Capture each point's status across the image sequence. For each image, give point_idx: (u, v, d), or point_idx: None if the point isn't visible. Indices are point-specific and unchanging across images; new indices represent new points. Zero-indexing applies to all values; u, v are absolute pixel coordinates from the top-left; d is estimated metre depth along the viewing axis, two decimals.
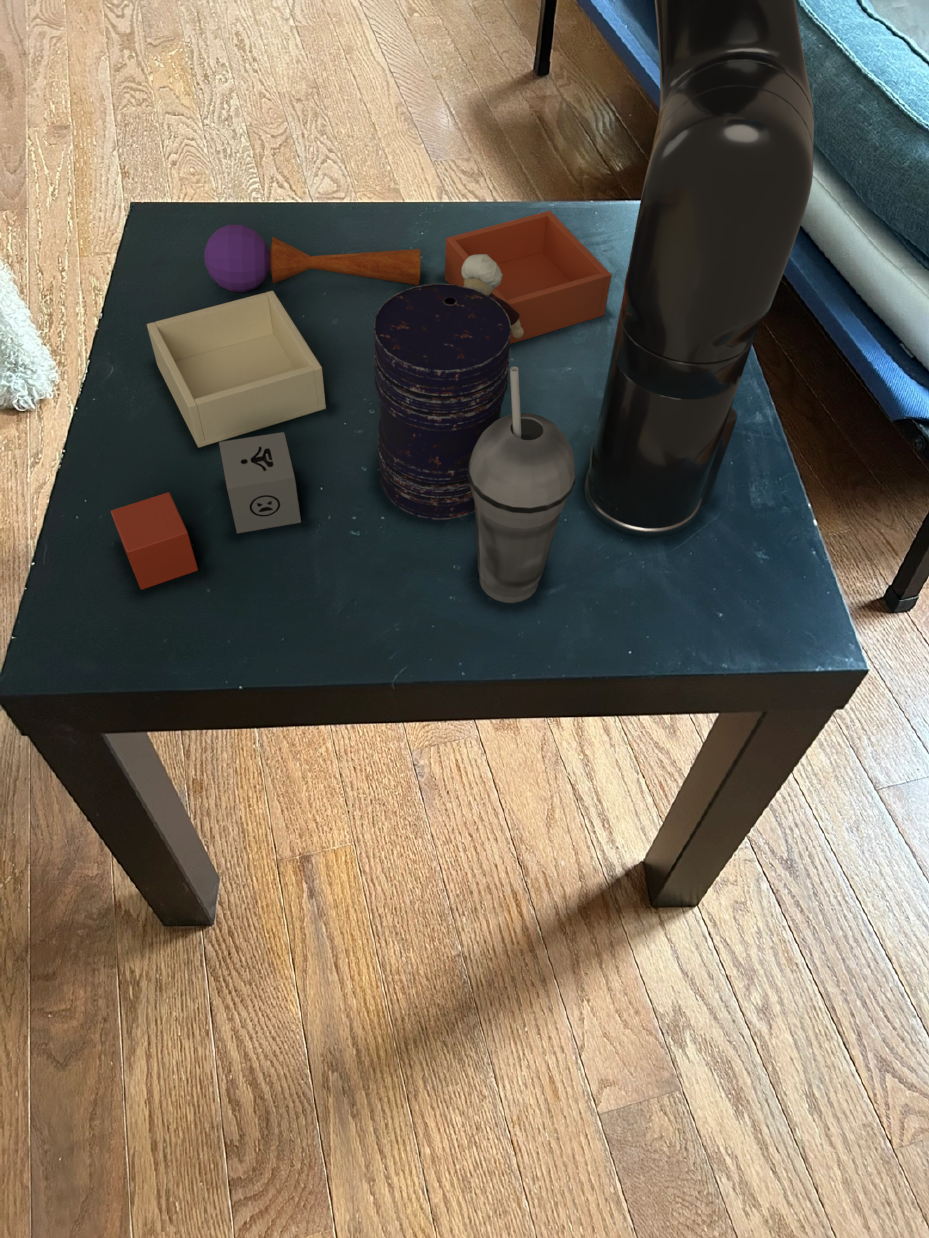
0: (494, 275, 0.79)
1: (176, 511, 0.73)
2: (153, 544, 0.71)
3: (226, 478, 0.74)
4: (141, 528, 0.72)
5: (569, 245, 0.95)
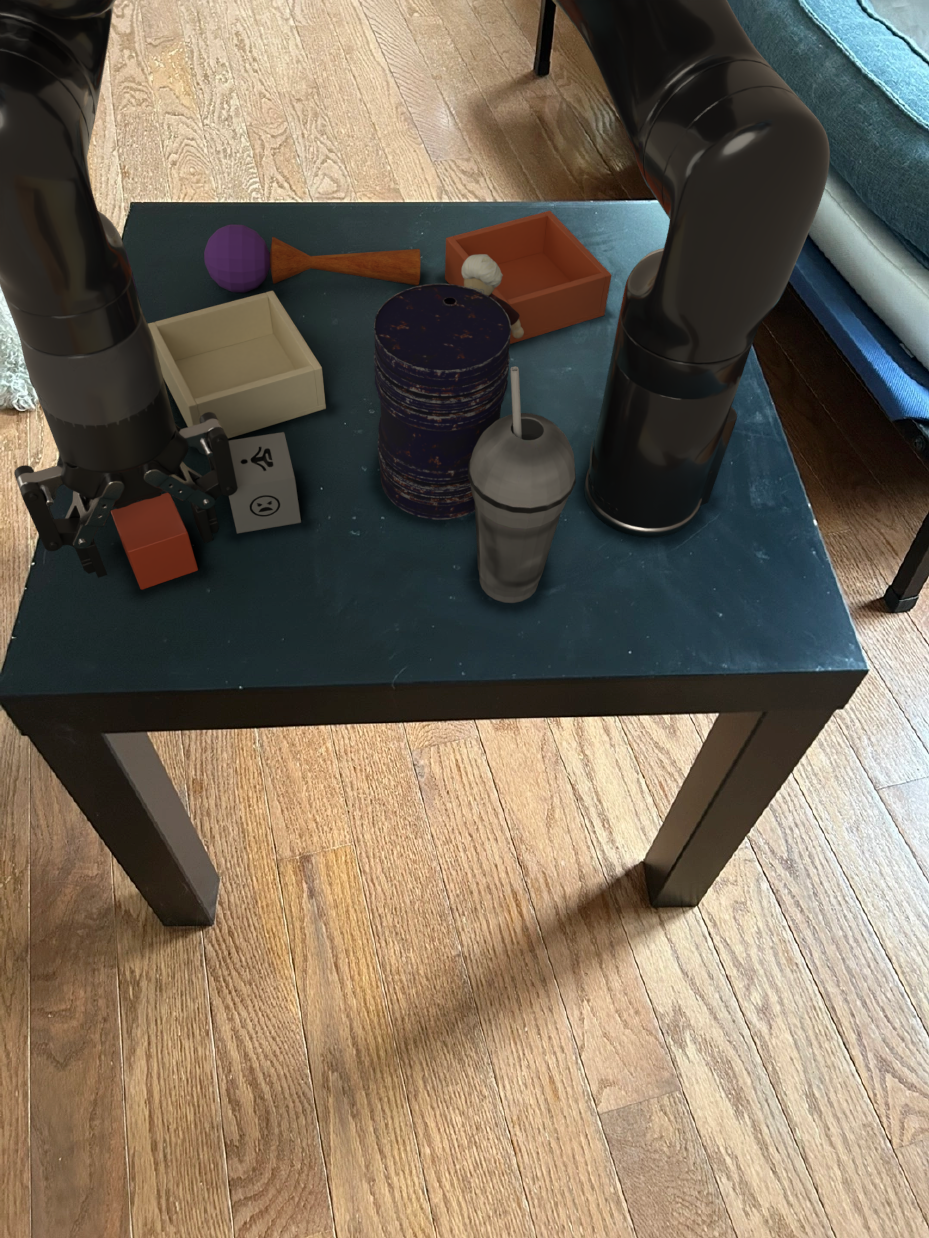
0: (494, 275, 0.79)
1: (176, 511, 0.73)
2: (153, 544, 0.71)
3: None
4: (141, 528, 0.72)
5: (569, 245, 0.95)
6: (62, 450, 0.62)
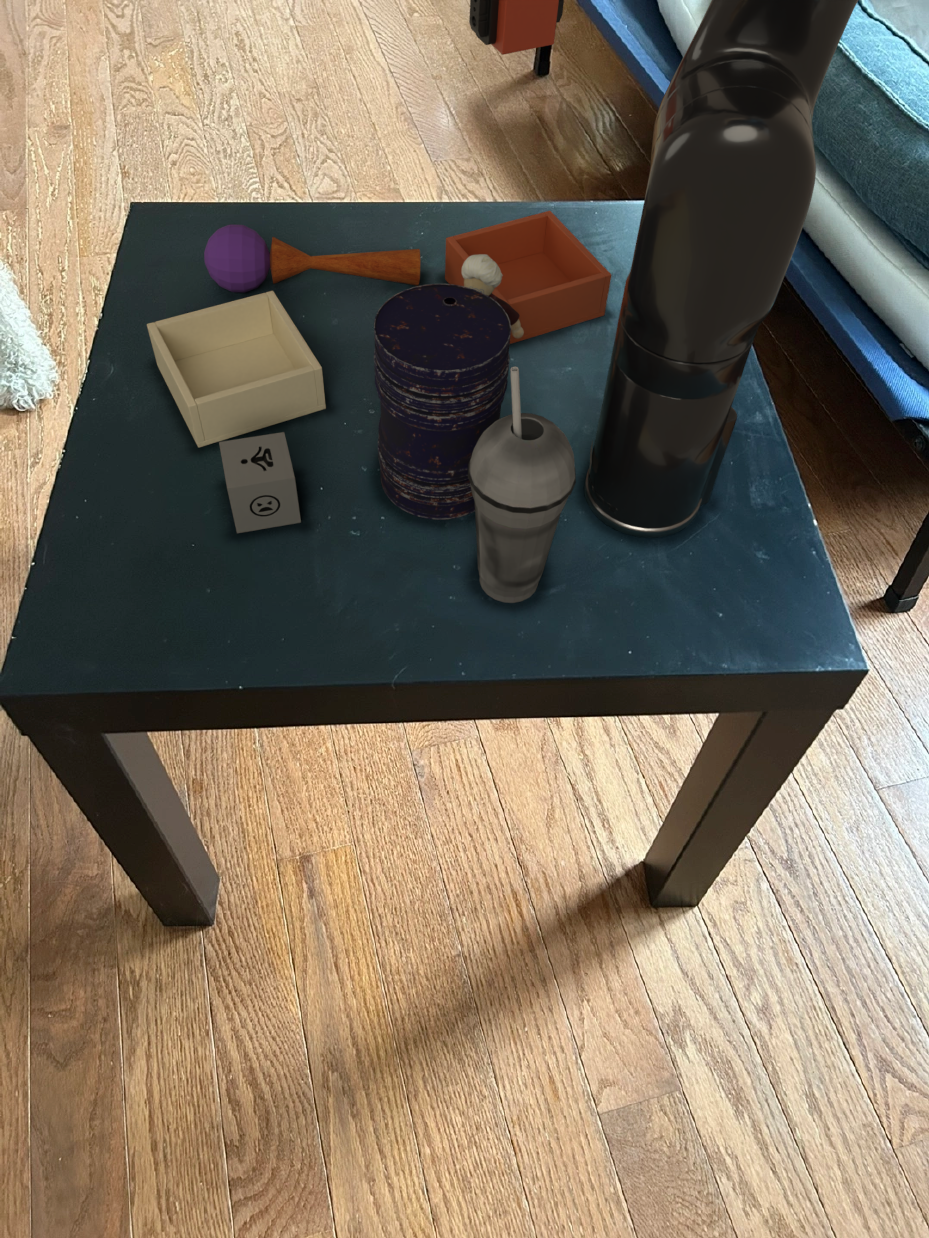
0: (494, 275, 0.79)
1: None
2: None
3: (226, 478, 0.74)
4: None
5: (569, 245, 0.95)
6: None
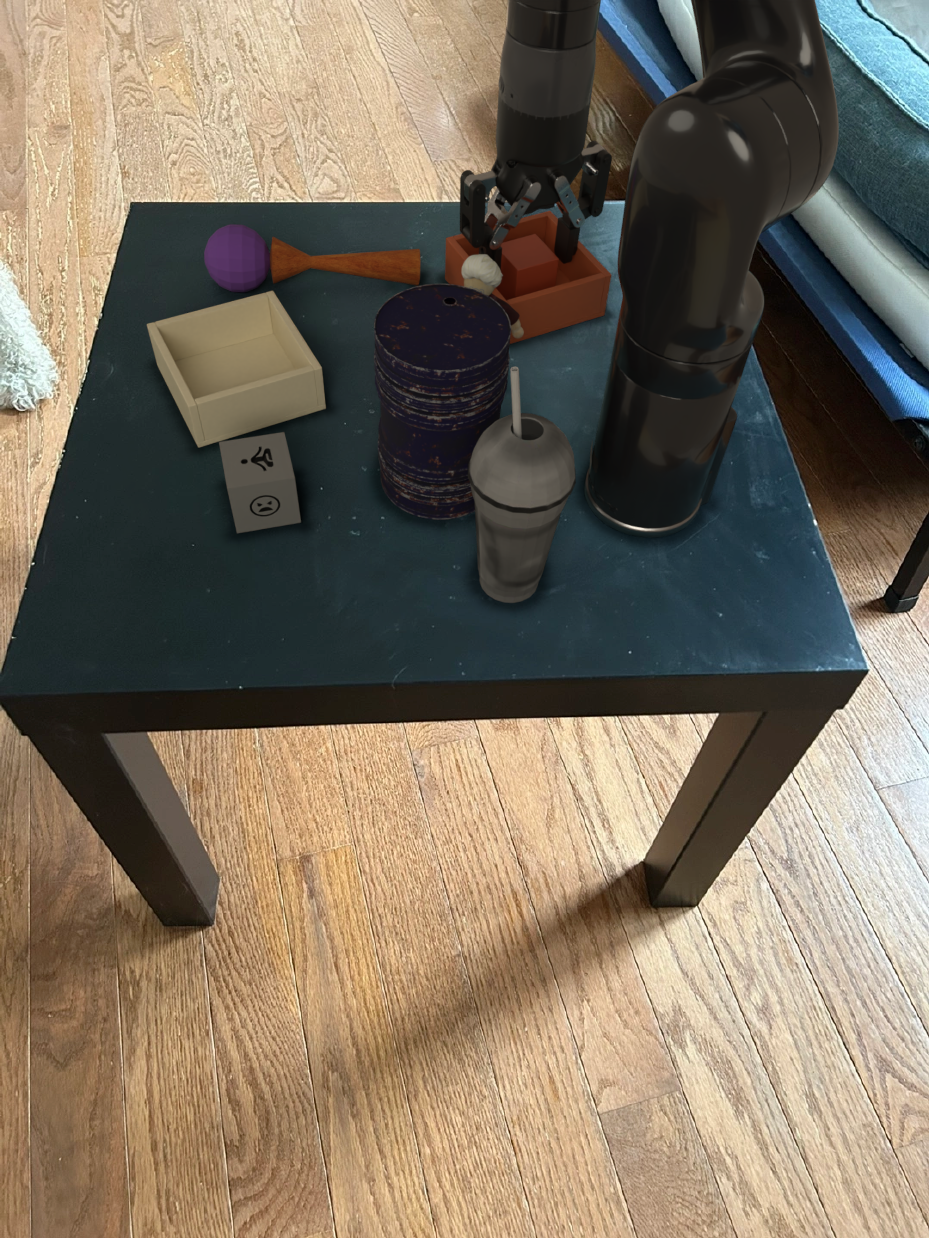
0: (494, 275, 0.79)
1: (545, 245, 0.93)
2: (535, 266, 0.91)
3: (226, 478, 0.74)
4: (523, 256, 0.92)
5: None
6: (511, 148, 0.82)
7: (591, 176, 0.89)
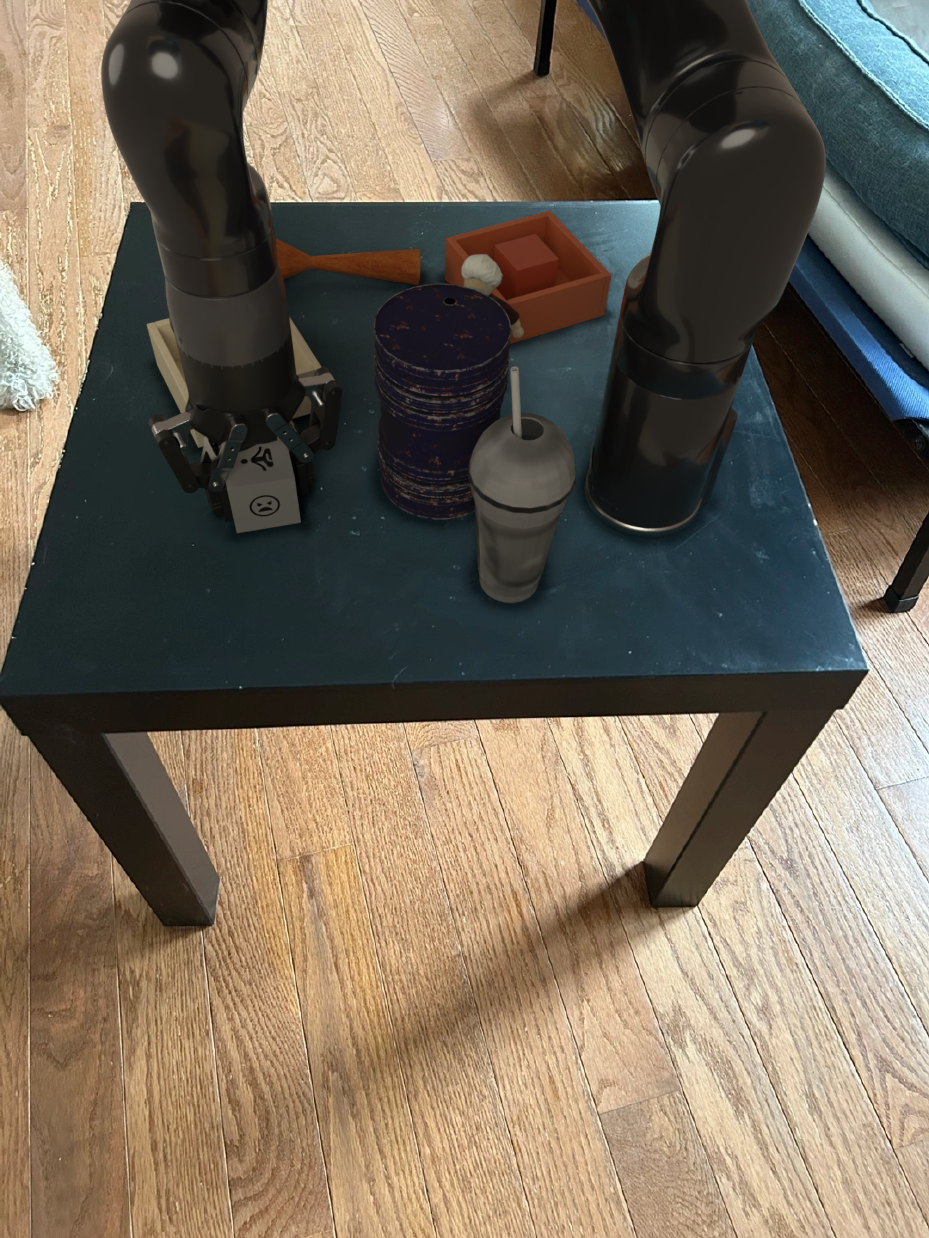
0: (494, 275, 0.79)
1: (545, 245, 0.93)
2: (535, 266, 0.91)
3: None
4: (523, 256, 0.92)
5: (569, 245, 0.95)
6: (195, 392, 0.66)
7: (319, 406, 0.74)
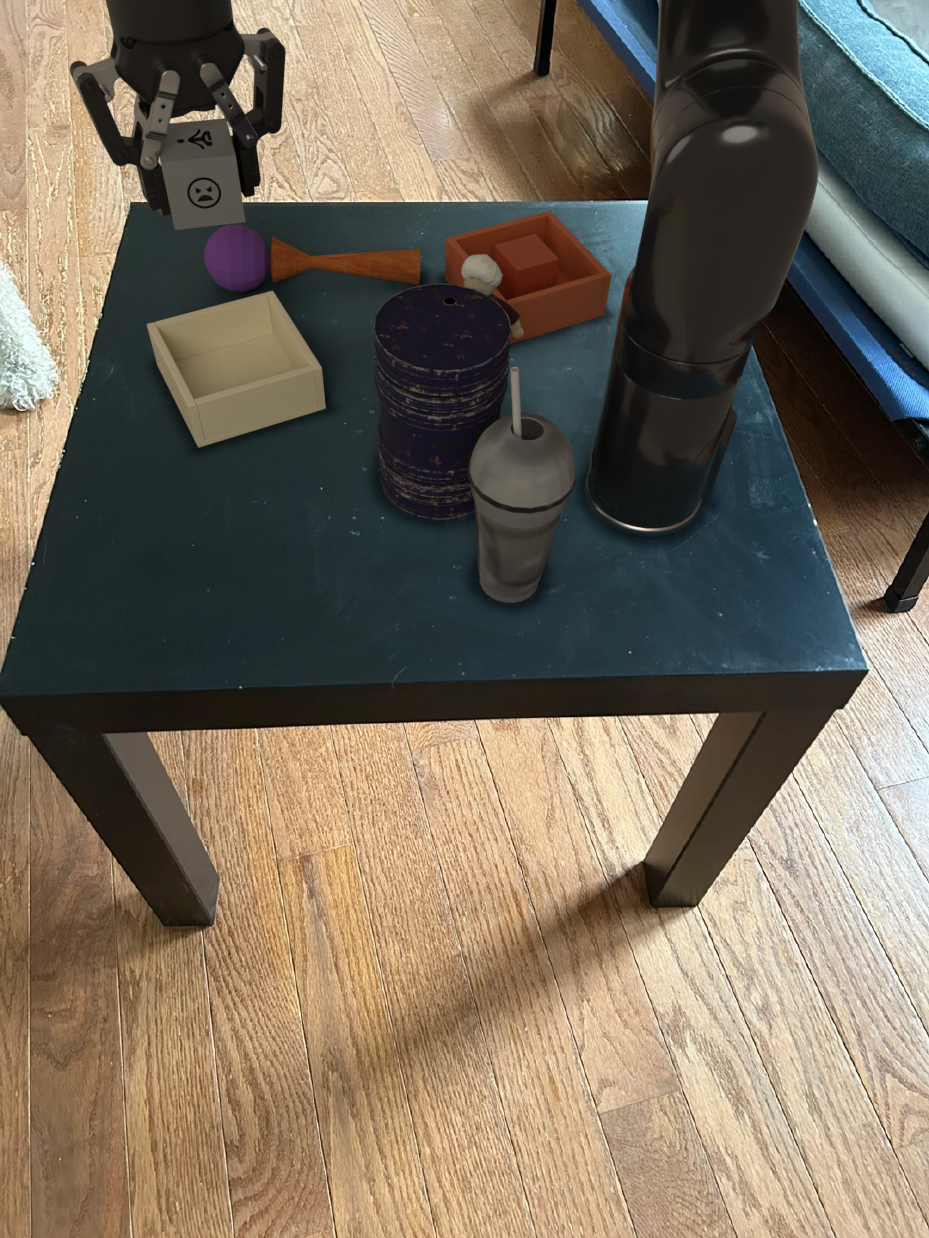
0: (494, 275, 0.79)
1: (545, 245, 0.93)
2: (535, 266, 0.91)
3: (160, 154, 0.67)
4: (523, 256, 0.92)
5: (569, 245, 0.95)
6: (118, 18, 0.60)
7: (262, 75, 0.67)
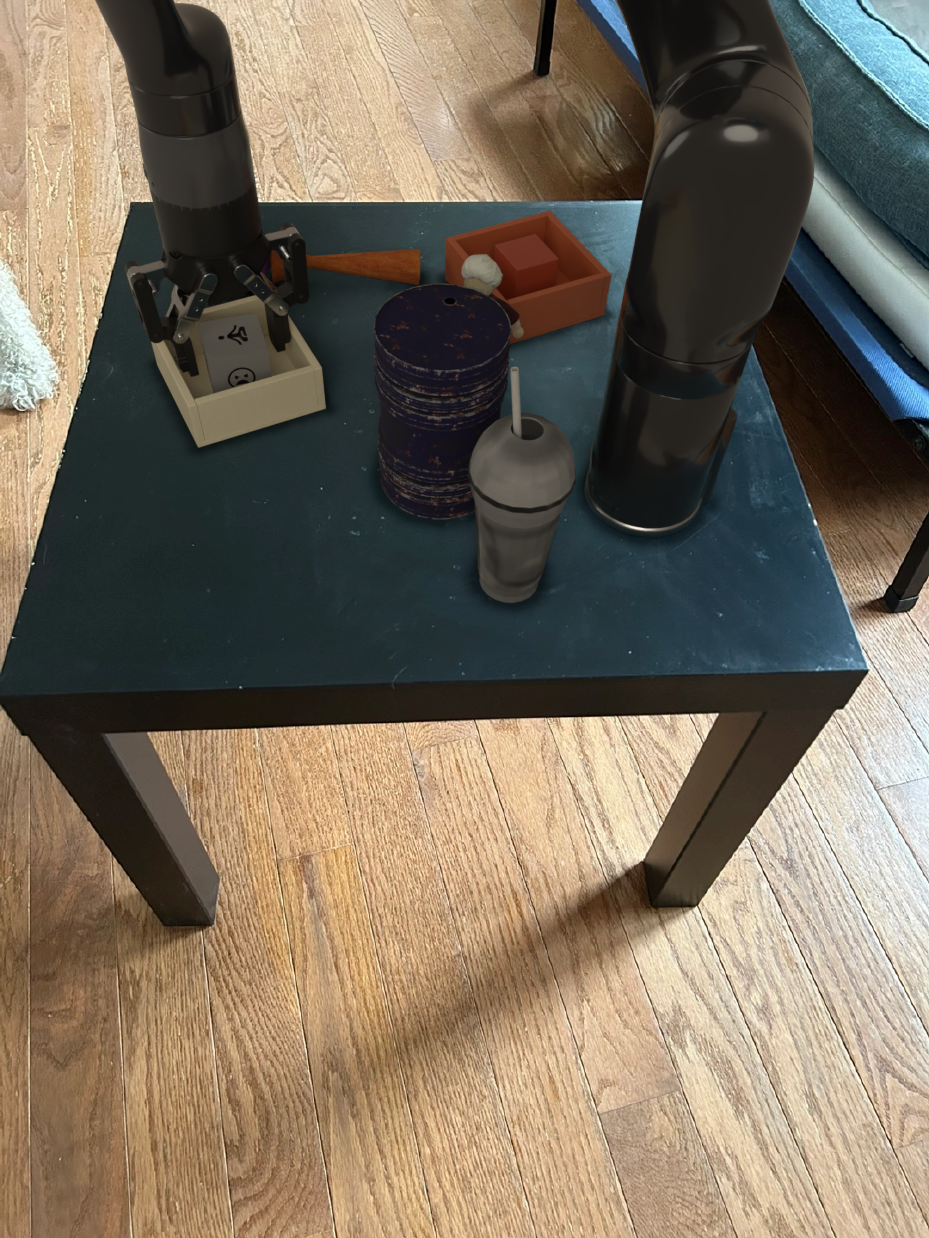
0: (494, 275, 0.79)
1: (545, 245, 0.93)
2: (535, 266, 0.91)
3: (205, 351, 0.82)
4: (523, 256, 0.92)
5: (569, 245, 0.95)
6: (168, 239, 0.73)
7: (288, 261, 0.80)
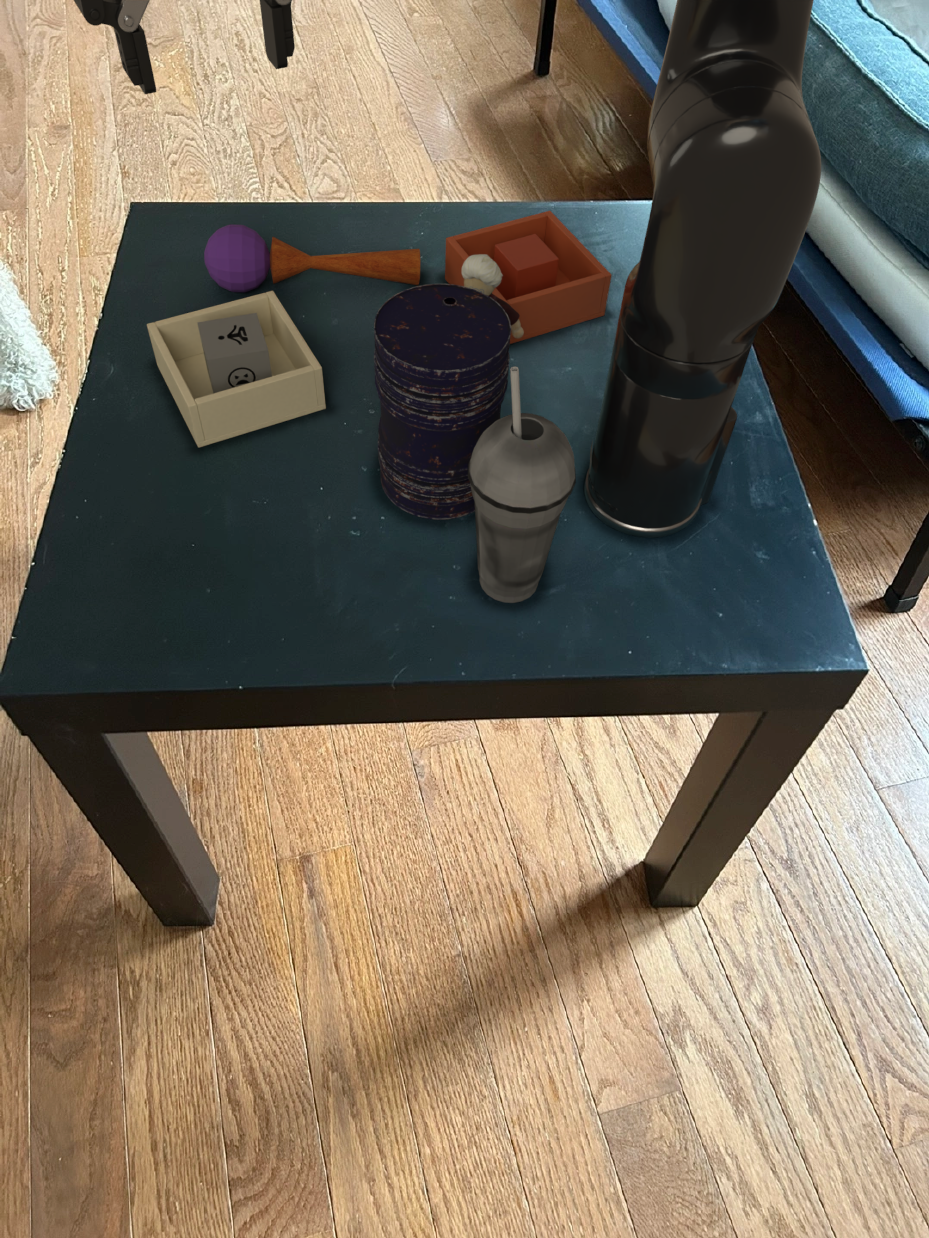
0: (494, 275, 0.79)
1: (545, 245, 0.93)
2: (535, 266, 0.91)
3: (205, 351, 0.82)
4: (523, 256, 0.92)
5: (569, 245, 0.95)
6: None
7: None
